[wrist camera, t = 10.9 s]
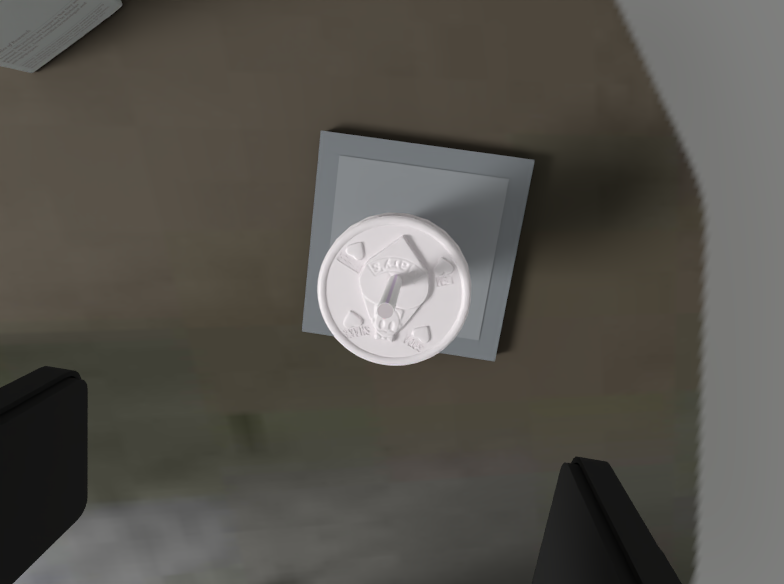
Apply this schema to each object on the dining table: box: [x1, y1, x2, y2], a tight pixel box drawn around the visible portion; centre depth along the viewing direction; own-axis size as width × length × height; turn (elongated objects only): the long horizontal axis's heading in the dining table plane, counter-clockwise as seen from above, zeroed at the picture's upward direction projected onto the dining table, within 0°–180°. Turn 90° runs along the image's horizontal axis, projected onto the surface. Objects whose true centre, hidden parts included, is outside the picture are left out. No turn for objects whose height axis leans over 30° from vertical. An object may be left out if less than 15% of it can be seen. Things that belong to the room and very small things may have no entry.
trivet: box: [302, 131, 535, 361], centre depth 31 cm, size 12×12×1 cm
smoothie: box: [317, 212, 472, 366], centre depth 23 cm, size 6×6×14 cm
